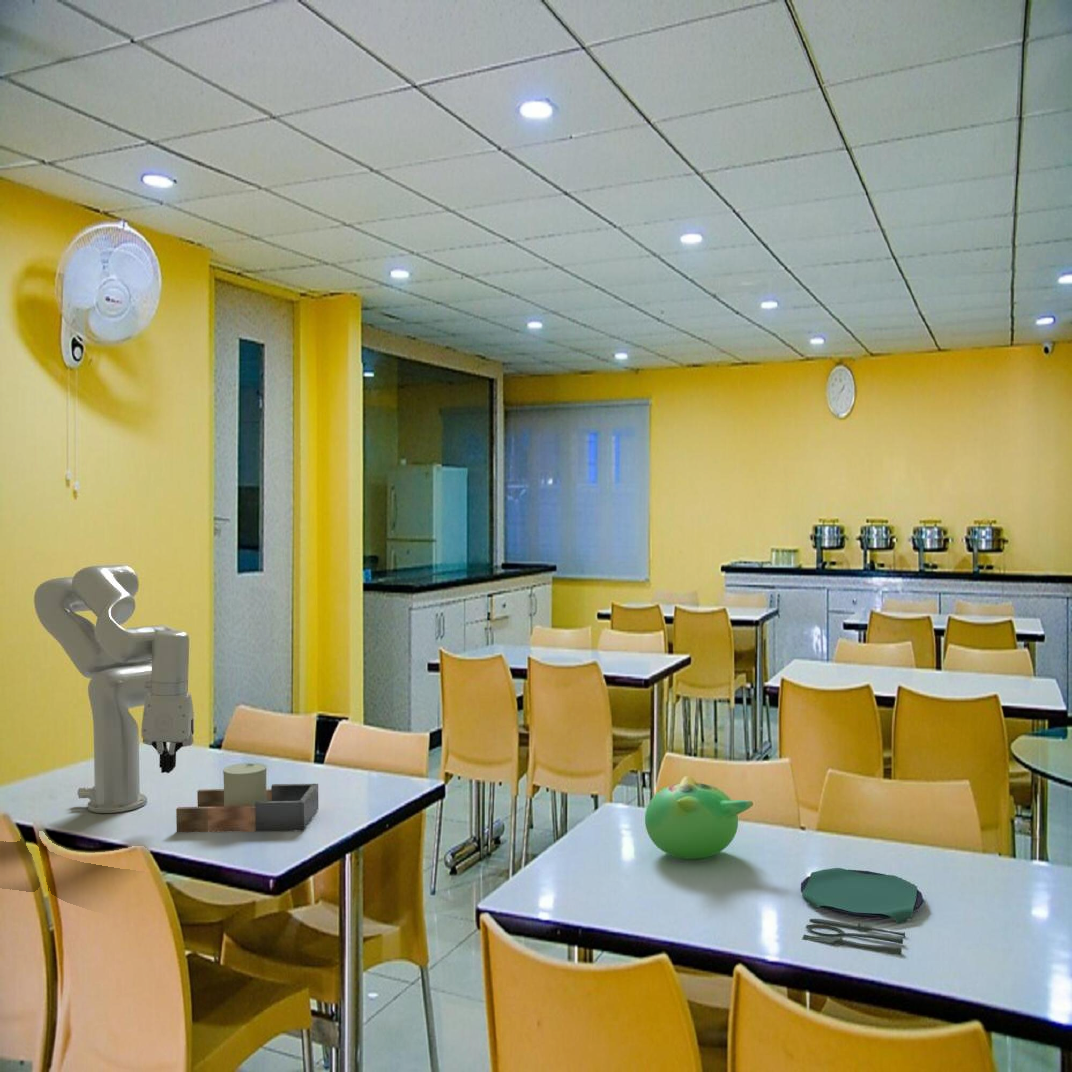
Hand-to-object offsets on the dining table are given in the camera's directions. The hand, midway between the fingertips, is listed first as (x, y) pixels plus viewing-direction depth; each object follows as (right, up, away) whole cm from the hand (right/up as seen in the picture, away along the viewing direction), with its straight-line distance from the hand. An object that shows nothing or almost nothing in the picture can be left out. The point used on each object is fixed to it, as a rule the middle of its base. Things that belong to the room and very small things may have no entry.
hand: (167, 770), depth 210 cm
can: (+17, -11, 0) cm, 20 cm away
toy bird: (+111, -11, -24) cm, 114 cm away
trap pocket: (+26, -11, 0) cm, 29 cm away
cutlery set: (+134, -12, -50) cm, 143 cm away
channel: (+13, -11, -1) cm, 17 cm away
